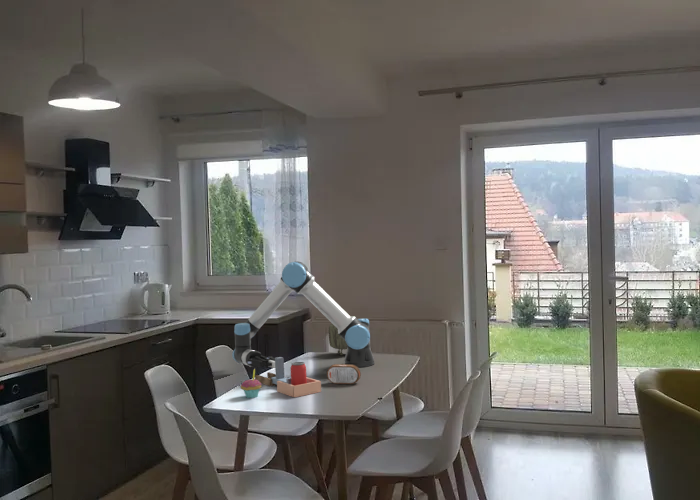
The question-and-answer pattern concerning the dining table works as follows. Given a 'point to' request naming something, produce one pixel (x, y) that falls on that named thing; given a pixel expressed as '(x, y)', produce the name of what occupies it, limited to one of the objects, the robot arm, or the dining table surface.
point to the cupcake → (251, 387)
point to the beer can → (298, 373)
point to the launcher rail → (266, 379)
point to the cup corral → (299, 388)
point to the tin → (343, 374)
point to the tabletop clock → (336, 339)
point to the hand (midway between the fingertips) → (277, 365)
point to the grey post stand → (280, 371)
